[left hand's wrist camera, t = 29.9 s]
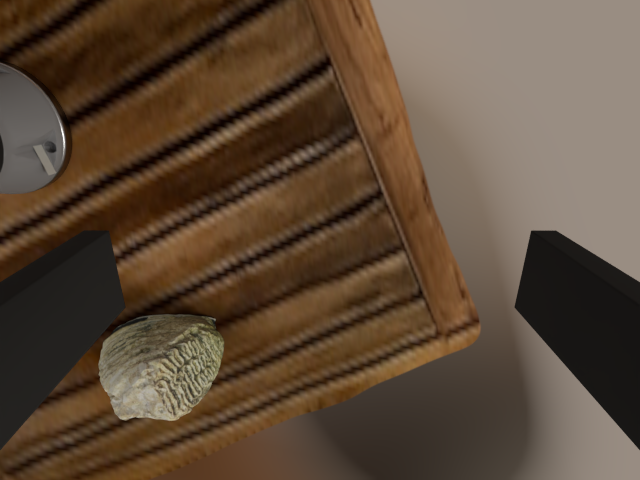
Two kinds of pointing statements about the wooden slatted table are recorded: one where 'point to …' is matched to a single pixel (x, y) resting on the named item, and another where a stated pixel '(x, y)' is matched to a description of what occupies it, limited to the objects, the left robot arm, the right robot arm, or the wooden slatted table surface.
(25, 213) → the wooden slatted table surface
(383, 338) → the wooden slatted table surface
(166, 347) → the fossil
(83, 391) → the wooden slatted table surface
